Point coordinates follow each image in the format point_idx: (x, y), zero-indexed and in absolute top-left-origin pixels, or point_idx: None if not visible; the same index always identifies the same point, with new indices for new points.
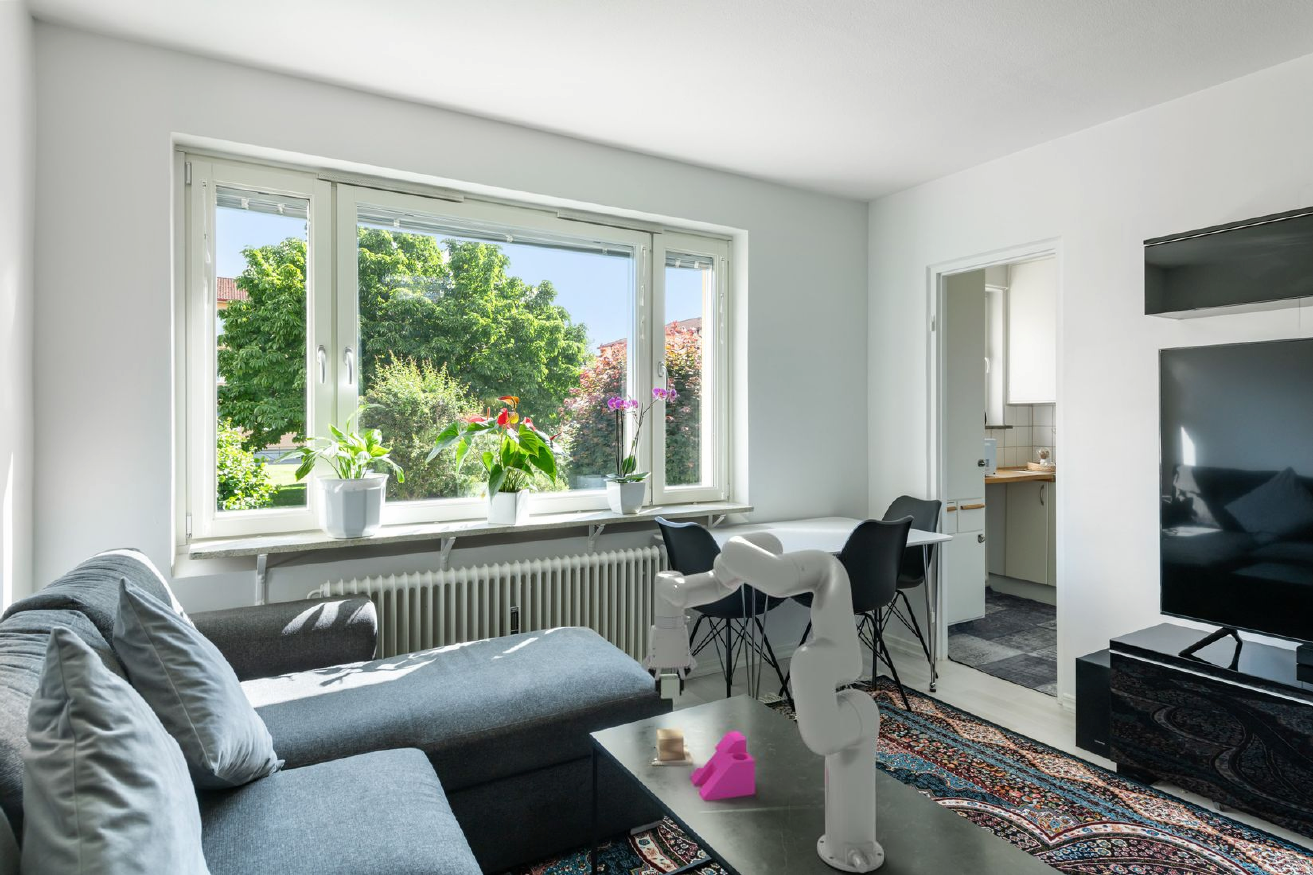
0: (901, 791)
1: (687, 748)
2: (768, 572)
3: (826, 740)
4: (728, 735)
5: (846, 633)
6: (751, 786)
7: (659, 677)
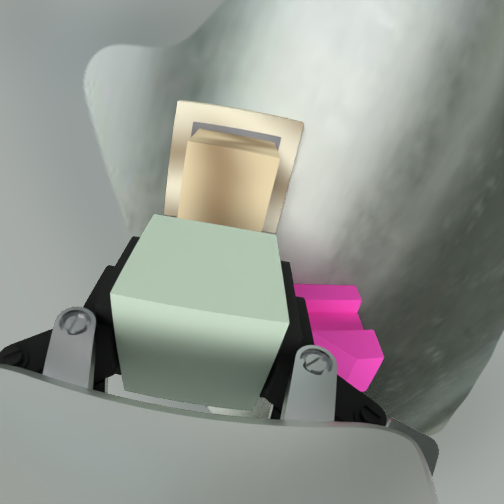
0: (484, 361)
1: (296, 146)
2: None
3: None
4: (349, 363)
5: None
6: None
7: (107, 385)
